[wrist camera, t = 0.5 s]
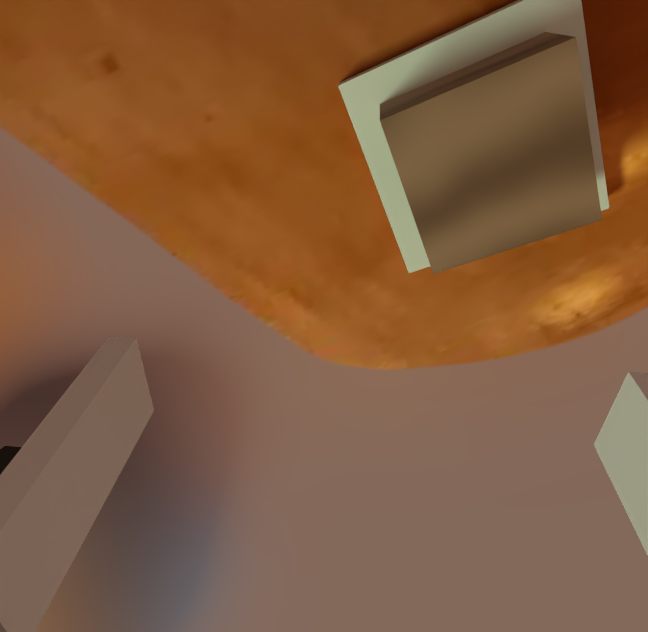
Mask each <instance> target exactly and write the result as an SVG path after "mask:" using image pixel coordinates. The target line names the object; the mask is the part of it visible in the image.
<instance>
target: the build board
mask: <svg viewBox="0 0 648 632" xmlns="http://www.w3.org/2000/svg"><path fill="white" fill-rule="evenodd" d="M544 32H550V33H556V34H562V35H567V36H573V37H576V41H577V48H578V55H579V62H580V69H581V76H582V83H583V90H584V97H585V104H586V111H587V118H588V125H589V132H590V139H591V146H592V153H593V160H594V167H595V173H596V180H597V187H598V194H599V201H600V208H601V211H602V210H605V209H608V208H609V202H608V195H607V187H606V180H605V172H604V165H603V157H602V150H601V142H600V135H599V128H598V120H597V113H596V105H595V98H594V90H593V83H592V75H591V68H590V61H589V53H588V46H587V38H586V31H585V23H584V16H583V8H582V1H581V0H517V1H515V2H513V3H511V4H508V5H506V6H504V7H502V8H500V9H498V10H495V11H493V12H491V13H489V14H487V15H485V16H482V17H480V18H478V19H476V20H474V21H472V22H469V23H467V24H465V25H463V26H461V27H459V28H456V29H454V30H452V31H450V32H448V33H446V34H443V35H441V36H439V37H437V38H435V39H433V40H430V41H428V42H426V43H424V44H422V45H420V46H418V47H415V48H413V49H411V50H409V51H407V52H405V53H402V54H400V55H398V56H396V57H394V58H392V59H389V60H387V61H385V62H383V63H381V64H379V65H376V66H374V67H372V68H370V69H368V70H366V71H363V72H361V73H359V74H357V75H355V76H353V77H350V78H348V79H346V80H344V81H342V82H340V83H339V85H338V87H339V89H340V92H341V94H342V97H343V100H344V102H345V105H346V108H347V110H348V113H349V116H350V118H351V121H352V124H353V126H354V129H355V132H356V134H357V137H358V140H359V142H360V145H361V147H362V150H363V153H364V155H365V158H366V161H367V163H368V166H369V169H370V171H371V174H372V177H373V179H374V182H375V185H376V187H377V190H378V193H379V195H380V198H381V201H382V203H383V206H384V208H385V211H386V214H387V216H388V219H389V222H390V224H391V227H392V230H393V232H394V235H395V238H396V240H397V243H398V246H399V248H400V251H401V254H402V256H403V259H404V261H405V264H406V267H407V269H408V272H409V273H411V272H414V271H417V270H420V269H423V268H426V267H429V266H430V263H429V260H428V257H427V254H426V251H425V249H424V246H423V243H422V240H421V237H420V234H419V231H418V229H417V226H416V223H415V220H414V217H413V214H412V211H411V208H410V206H409V203H408V200H407V197H406V194H405V191H404V188H403V186H402V183H401V180H400V177H399V174H398V171H397V168H396V166H395V163H394V160H393V157H392V154H391V151H390V148H389V145H388V143H387V140H386V137H385V134H384V131H383V128H382V125H381V123H380V104H382V103H384V102H386V101H389V100H391V99H393V98H396V97H398V96H400V95H402V94H405V93H407V92H409V91H412V90H414V89H416V88H418V87H421V86H423V85H425V84H428V83H430V82H432V81H434V80H437V79H439V78H441V77H444V76H446V75H448V74H450V73H453V72H455V71H457V70H460V69H462V68H464V67H467V66H469V65H471V64H473V63H476V62H478V61H480V60H483V59H485V58H487V57H489V56H492V55H494V54H496V53H499V52H501V51H503V50H505V49H508V48H510V47H512V46H515V45H517V44H519V43H521V42H524V41H526V40H528V39H531V38H533V37H535V36H538V35H540V34H542V33H544Z"/></svg>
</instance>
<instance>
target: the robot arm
mask: <svg viewBox="0 0 648 632" xmlns="http://www.w3.org/2000/svg"><path fill="white" fill-rule="evenodd" d="M153 411H154V409H153V405H152V400H151V396H150V392H149V388H148V384H147V380H146V376H145V372H144V368H143V364H142V360H141V356H140V351H139V347H138V343H137V339H136V338H131V337H115V336H109V337H108V339H107V340H106V341H105V342H104V344H103V345H102V346H101V347H100V349H99V350H98V351H97V352H96V354H95V355H94V356H93V358H92V359H91V360H90V362H89V363H88V364H87V365H86V366H85V368H84V369H83V370H82V372H81V373H80V374H79V375H78V377H77V378H76V379H75V380H74V382H73V383H72V384H71V386H70V387H69V388H68V389H67V391H66V392H65V393H64V394H63V396H62V397H61V398H60V400H59V401H58V402H57V403H56V405H55V406H54V407H53V408H52V410H51V411H50V412H49V414H48V415H47V416H46V417H45V419H44V420H43V421H42V422H41V424H40V425H39V427H37V429H36V430H35V431H34V433H33V434H32V435H31V436H30V438H29V439H28V440H27V442H26V443H25V444H24V445H23V447H10V446H5V447H3V448H2V449H0V632H35V630H36V629H37V626H38V625H39V623H40V621H41V619H42V617H43V615H44V614H45V612H46V610H47V608H48V606H49V604H50V602H51V601H52V599H53V597H54V595H55V593H56V591H57V589H58V588H59V586H60V584H61V582H62V580H63V578H64V576H65V574H66V573H67V571H68V569H69V567H70V565H71V563H72V562H73V560H74V558H75V556H76V554H77V552H78V550H79V549H80V547H81V545H82V543H83V541H84V539H85V537H86V536H87V534H88V532H89V530H90V528H91V526H92V524H93V523H94V521H95V519H96V517H97V515H98V513H99V511H100V510H101V508H102V506H103V504H104V502H105V500H106V498H107V497H108V495H109V493H110V491H111V489H112V487H113V485H114V483H115V481H116V479H117V478H118V476H119V474H120V472H121V470H122V469H123V467H124V465H125V463H126V461H127V459H128V457H129V456H130V453H131V452H132V450H133V448H134V446H135V444H136V443H137V441H138V439H139V437H140V435H141V433H142V431H143V430H144V428H145V426H146V424H147V422H148V420H149V418H150V417H151V415H152V413H153ZM594 446H595V448H596V450H597V452H598V454H599V456H600V459H601V461H602V463H603V464H604V467H605V469H606V471H607V473H608V475H609V477H610V479H611V481H612V483H613V485H614V487H615V489H616V492H617V494H618V496H619V498H620V500H621V502H622V504H623V506H624V508H625V510H626V512H627V514H628V516H629V518H630V520H631V522H632V524H633V527H634V529H635V531H636V533H637V535H638V537H639V539H640V541H641V543H642V545H643V547H644V549H645V551H646V553H647V555H648V373H639V372H628V374H627V376H626V378H625V380H624V382H623V385H622V387H621V389H620V391H619V393H618V395H617V397H616V399H615V401H614V403H613V406H612V408H611V410H610V412H609V414H608V416H607V419H606V420H605V422H604V425H603V427H602V429H601V431H600V433H599V435H598V438H597V440H596V441H595V444H594Z"/></svg>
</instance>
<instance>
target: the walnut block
mask: <svg viewBox="0 0 648 632" xmlns="http://www.w3.org/2000/svg"><path fill="white" fill-rule="evenodd" d="M380 123H381V125H382V128H383V131H384V134H385V137H386V140H387V143H388V145H389V148H390V151H391V154H392V157H393V160H394V163H395V166H396V168H397V171H398V174H399V177H400V180H401V183H402V186H403V188H404V191H405V194H406V197H407V200H408V203H409V206H410V208H411V211H412V214H413V217H414V220H415V223H416V226H417V229H418V231H419V234H420V237H421V240H422V243H423V246H424V249H425V251H426V254H427V257H428V260H429V263H430V266H431V269H432V271H433V274H434V273H437V272H440V271H444V270H447V269H450V268H453V267H456V266H459V265H462V264H465V263H469V262H472V261H475V260H478V259H481V258H484V257H487V256H491V255H494V254H497V253H500V252H503V251H506V250H509V249H513V248H516V247H519V246H522V245H525V244H528V243H531V242H534V241H538V240H541V239H544V238H547V237H550V236H553V235H556V234H560V233H563V232H566V231H569V230H572V229H575V228H578V227H582V226H585V225H588V224H591V223H594V222H597V221H600V220H602V215H601V208H600V201H599V194H598V187H597V180H596V173H595V167H594V160H593V153H592V146H591V139H590V132H589V125H588V118H587V111H586V104H585V97H584V90H583V83H582V76H581V69H580V62H579V55H578V48H577V41H576V37H573V36H567V35H562V34H556V33H550V32H544V33H542V34H540V35H538V36H535V37H533V38H531V39H528V40H526V41H524V42H521V43H519V44H517V45H515V46H512V47H510V48H508V49H505V50H503V51H501V52H499V53H496V54H494V55H492V56H489V57H487V58H485V59H483V60H480V61H478V62H476V63H473V64H471V65H469V66H467V67H464V68H462V69H460V70H457V71H455V72H453V73H450V74H448V75H446V76H444V77H441V78H439V79H437V80H434V81H432V82H430V83H428V84H425V85H423V86H421V87H418V88H416V89H414V90H412V91H409V92H407V93H405V94H402V95H400V96H398V97H396V98H393V99H391V100H389V101H386V102H384V103H382V104H380Z"/></svg>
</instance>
